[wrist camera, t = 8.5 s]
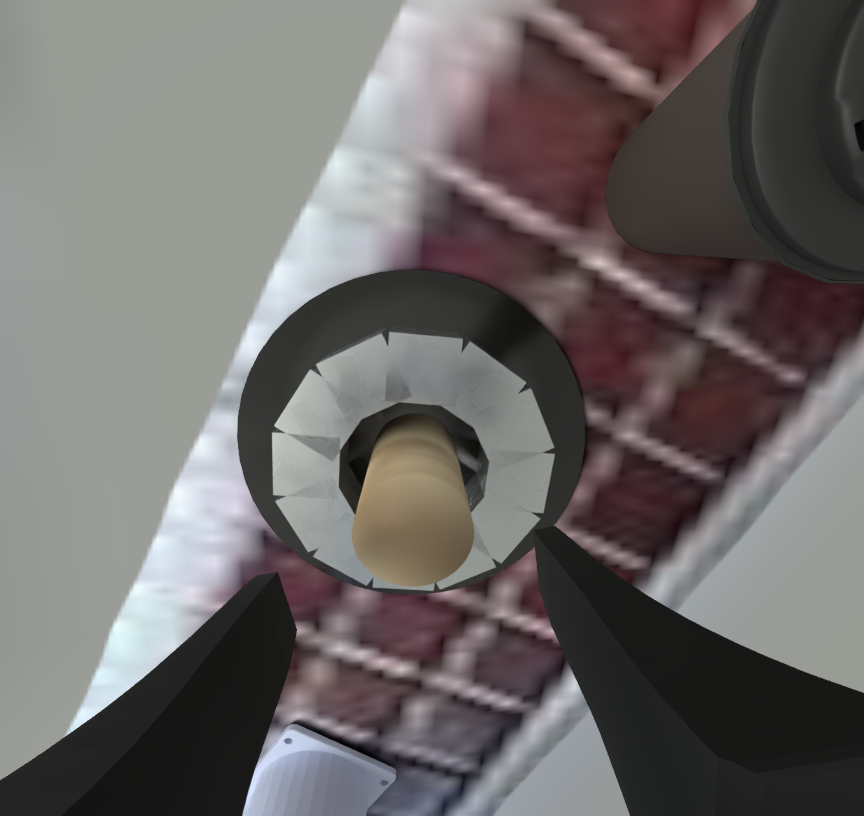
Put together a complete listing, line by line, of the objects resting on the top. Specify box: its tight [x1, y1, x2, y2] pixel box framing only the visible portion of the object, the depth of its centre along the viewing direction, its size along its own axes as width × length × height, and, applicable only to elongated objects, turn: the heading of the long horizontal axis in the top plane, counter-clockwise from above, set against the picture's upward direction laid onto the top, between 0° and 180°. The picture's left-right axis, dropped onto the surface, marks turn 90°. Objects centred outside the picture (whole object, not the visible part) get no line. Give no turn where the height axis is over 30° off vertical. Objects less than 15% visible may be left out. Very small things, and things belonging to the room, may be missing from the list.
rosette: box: [237, 270, 585, 594], centre depth 19 cm, size 17×17×3 cm
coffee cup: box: [605, 0, 864, 284], centre depth 12 cm, size 8×8×10 cm
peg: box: [352, 413, 474, 587], centre depth 17 cm, size 4×4×7 cm
